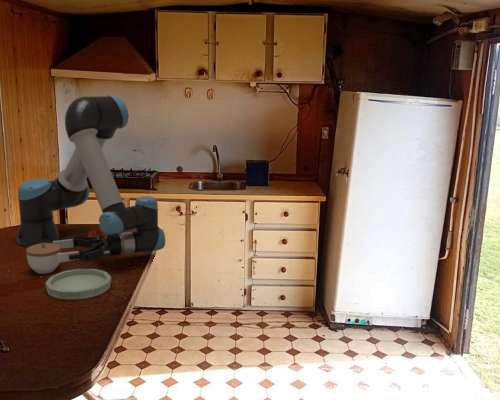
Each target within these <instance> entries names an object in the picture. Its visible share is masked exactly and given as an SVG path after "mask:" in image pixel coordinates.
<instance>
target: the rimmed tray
mask: <svg viewBox="0 0 500 400" xmlns="http://www.w3.org/2000/svg"><path fill="white" fill-rule="evenodd" d="M111 283H112V276H111V275H110V274H109V273H108V272H107V271H104V270H101V269H96V268H76V269H68V270H64V271H61V272H59V273H56V274H54V275H53V274H52V275H51V276H50V277H49V278H48V279H47V280H46V281H45V289H46V291H47V294H48V295H49V296H50V297H52V298H54V299H56V300H57V299H58V300H63V301H64V300H65V301H77V300H78V301H79V300H87V299H91V298H95V297H97V296H100V295H103V294H104V293H106V292H107V291H108V290H110V288H111Z"/></svg>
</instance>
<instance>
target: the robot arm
mask: <svg viewBox="0 0 500 400" xmlns="http://www.w3.org/2000/svg"><path fill="white" fill-rule="evenodd" d="M64 116H65V117H64V125H65V126H64V127H65V131H66V135H67V137H68V140H69V142H71V143H73V144H74V146H75V148H74V150H73V152H72V154H71V157H70V159H69V161H68V164H67V165H66V167H65V169H63V170H61V171H59V173H58V175H57V177H56V179H55V180H50V179H49V178H44V177H42V178H33V179H28V180H26V181H24V182H21V183H20V184H19V186H18V188H17V198H18V206H19V207H18V208H19V219H20V224H19V228H18V231H17V233H16V234H17V235H16V241H17V242H16V243H17V245H19V246H22V247H23V246H24V247H30V246H32V245H36V244H42V243H54V244H58V245H60V246H61V249H71V248H73V249H75V248H76V247H79V248H81V247H82V248H86V249H84V250H81V249H79V251H77V250H76V251H68V252H61V253H59V254H57V258H58V262H60V263H65V262H72V261H82V262H83V263H85V262H89V261H92V260H94V259H100V258H103V257H106V256H107V257H108V256H110V257H114V256H120V255H121V254H122V255H127V256H131V254H137V253H146V252H154V251H160V250H162V249H164V248H165V246H166V234H165V231H164V229H162V228H159V208H158V207H159V205H158V199H157V198H156V197H154V196H148V195H147V196H139V197H136V199H135V204H134V205H131V206H127V207H126V205H125V203H124V200H123V198H122V196H121V193H120V191H119V189H118V186H117V183H116V181H115V178H114V177H113V174H112V171H111V169H110V166H109V164H108V162H107V159H106V157H105V154H104V152H103V150H102V149H103V148H104V145H105V143H106V141H108V140H110V139H113V137H114V135H115V133H116V132H117V130H119V129H123V128H125V127H126V126H128V125H127V124H128V123H129V110H128V107H127V104H126V103H125V102H124V100H123V99H122V98H120V97H119V96H114V95H113V96H112V95H105V96H103V95H102V96H99V95H98V96H81V97H80V96H79V97H78V98H76V99H74V100H73V101H71V103H70V104H69V106H67V109H66V112H65V114H64ZM87 179H88V180H87ZM88 181H89V183H90V185H91V188H92V190H93V192H94V195H95V198H96V201H97V202H98V205H99V207H100V210H101V212H102V213H101V215H99V218H98V222H99V225H98V226H99V229H101V230H102V231H103V232H104V233H105V234H106V235H107V239H106V240H103V237H88V236H74V237H73V238H71V239H61V240H59V239H60V233H59V232H60V231H58V228H57V224H56V223H55V220H54V212H55V211H59V210H64V209H70V208H76V207H78V206H82V205H83V204H84V203H86V202H87V200H88V198H89V195H90V191H89V190H90V186H89V183H88ZM133 229H136V230H134V231H130V230H133Z"/></svg>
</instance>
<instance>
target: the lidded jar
mask: <svg viewBox="0 0 500 400" xmlns="http://www.w3.org/2000/svg"><path fill="white" fill-rule="evenodd" d="M25 253H26V254H25V255H26V260H27V263H28V265H29V268H31V269H32V270H33V271H34V272H35V273H37V274H42V275H43V274H51V273H53V272H55V270H56V269H57V268H58V266H59V265H60V263H61V262H58V258H57V254H59V253H62V248H61V246H60V245H58V244H54V243H42V244H36V245H32V246H27V248H26V249H25Z"/></svg>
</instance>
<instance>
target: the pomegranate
mask: <svg viewBox="0 0 500 400" xmlns="http://www.w3.org/2000/svg"><path fill="white" fill-rule="evenodd" d="M107 236H108V235H107V234H105V233H104V232H103V231H102V230H101V228H92V229H90V231H89V232H88V234H87V237H103V240H106V239H107Z"/></svg>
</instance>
